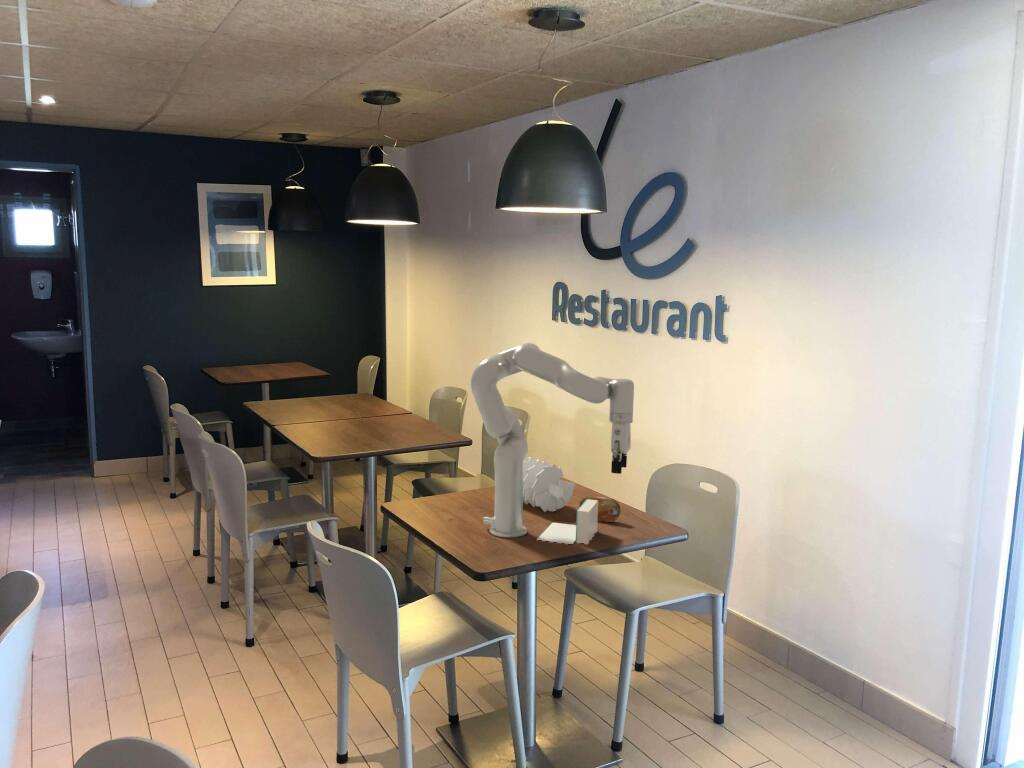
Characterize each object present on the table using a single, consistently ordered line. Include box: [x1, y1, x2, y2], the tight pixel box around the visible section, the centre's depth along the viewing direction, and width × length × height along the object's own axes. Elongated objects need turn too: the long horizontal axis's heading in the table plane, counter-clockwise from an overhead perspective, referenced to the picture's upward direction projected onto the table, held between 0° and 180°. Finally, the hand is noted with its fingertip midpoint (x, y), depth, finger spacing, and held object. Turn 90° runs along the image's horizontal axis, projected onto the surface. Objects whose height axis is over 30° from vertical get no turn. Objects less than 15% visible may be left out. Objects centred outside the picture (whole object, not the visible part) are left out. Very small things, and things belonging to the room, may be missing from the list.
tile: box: [575, 499, 599, 545], centre depth 269 cm, size 4×14×11 cm, turn 161°
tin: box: [578, 495, 621, 523], centre depth 288 cm, size 15×3×8 cm, turn 62°
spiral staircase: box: [523, 456, 576, 513], centre depth 303 cm, size 18×18×25 cm
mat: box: [536, 522, 576, 545], centre depth 273 cm, size 12×19×1 cm, turn 161°
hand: (618, 469), depth 263 cm, fingers open, 8 cm apart
